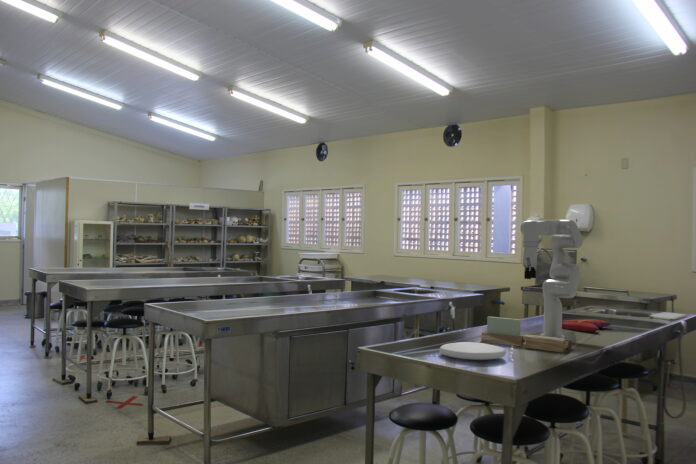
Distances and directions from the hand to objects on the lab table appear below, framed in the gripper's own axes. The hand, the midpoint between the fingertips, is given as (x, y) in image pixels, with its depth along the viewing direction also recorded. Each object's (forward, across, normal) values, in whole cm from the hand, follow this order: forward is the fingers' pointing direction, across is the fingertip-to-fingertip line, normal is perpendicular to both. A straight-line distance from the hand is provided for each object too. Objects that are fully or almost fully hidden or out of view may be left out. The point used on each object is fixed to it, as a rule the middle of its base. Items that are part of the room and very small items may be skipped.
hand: (530, 278), depth 270 cm
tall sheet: (+32, +11, -10) cm, 35 cm away
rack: (+33, +11, +11) cm, 37 cm away
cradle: (+33, +11, -10) cm, 36 cm away
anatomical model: (+34, -75, +11) cm, 83 cm away
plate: (+34, +50, -12) cm, 61 cm away
